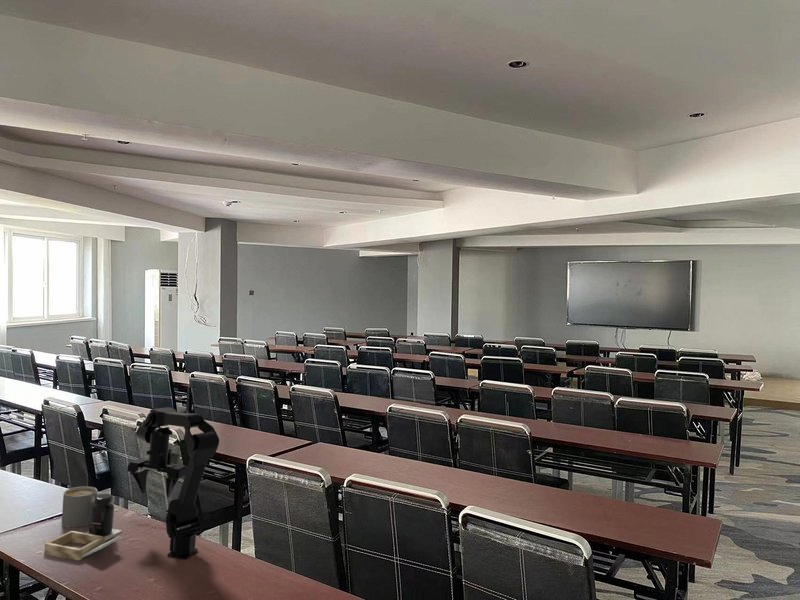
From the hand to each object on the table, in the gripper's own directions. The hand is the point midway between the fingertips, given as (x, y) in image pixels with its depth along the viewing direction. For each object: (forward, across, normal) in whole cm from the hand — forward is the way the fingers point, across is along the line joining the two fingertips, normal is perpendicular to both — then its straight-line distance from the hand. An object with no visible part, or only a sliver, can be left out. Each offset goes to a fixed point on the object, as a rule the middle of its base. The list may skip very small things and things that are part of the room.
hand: (156, 494), depth 186 cm
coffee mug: (+13, +27, 0) cm, 30 cm away
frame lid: (+13, +5, +18) cm, 22 cm away
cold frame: (+13, +14, +18) cm, 26 cm away
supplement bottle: (+13, +15, +6) cm, 20 cm away
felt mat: (+13, +15, +6) cm, 21 cm away
